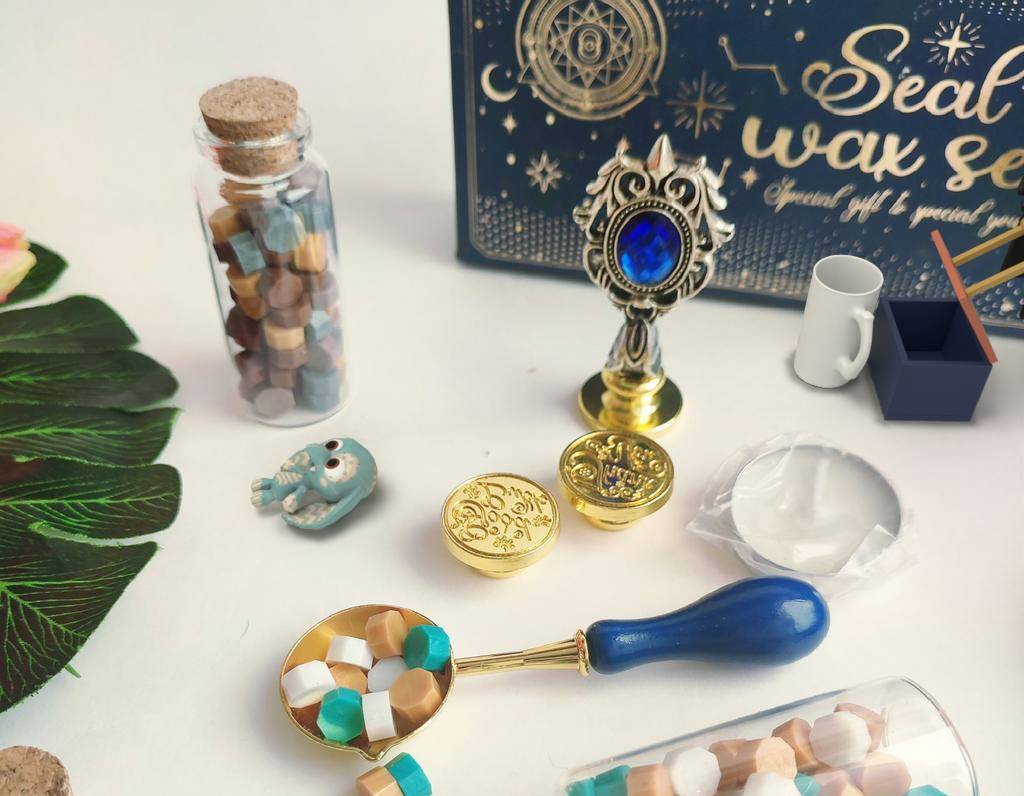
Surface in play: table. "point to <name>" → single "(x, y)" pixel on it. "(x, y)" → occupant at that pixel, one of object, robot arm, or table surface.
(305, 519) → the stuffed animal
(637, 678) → the table surface
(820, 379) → the mug
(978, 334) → the lid
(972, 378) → the blue open box
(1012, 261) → the robot arm
